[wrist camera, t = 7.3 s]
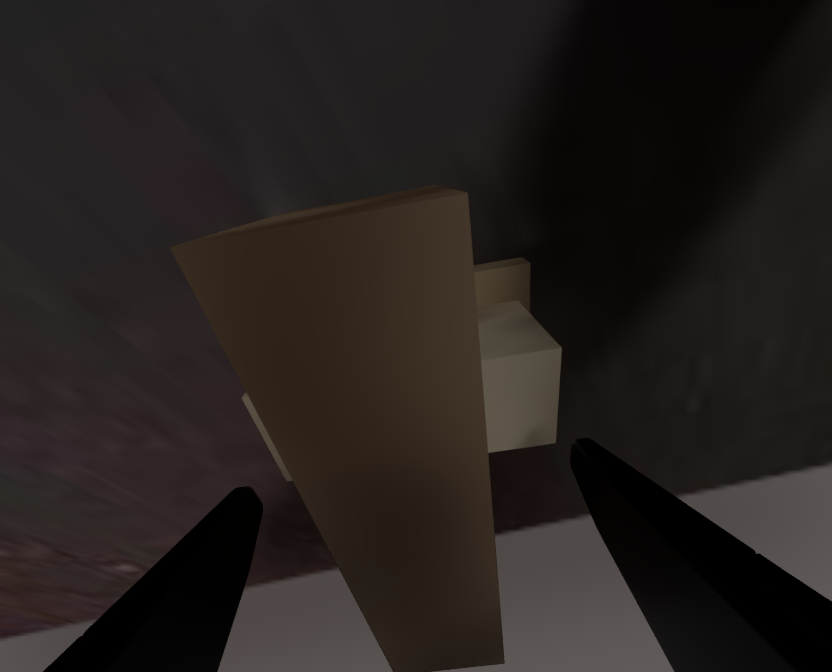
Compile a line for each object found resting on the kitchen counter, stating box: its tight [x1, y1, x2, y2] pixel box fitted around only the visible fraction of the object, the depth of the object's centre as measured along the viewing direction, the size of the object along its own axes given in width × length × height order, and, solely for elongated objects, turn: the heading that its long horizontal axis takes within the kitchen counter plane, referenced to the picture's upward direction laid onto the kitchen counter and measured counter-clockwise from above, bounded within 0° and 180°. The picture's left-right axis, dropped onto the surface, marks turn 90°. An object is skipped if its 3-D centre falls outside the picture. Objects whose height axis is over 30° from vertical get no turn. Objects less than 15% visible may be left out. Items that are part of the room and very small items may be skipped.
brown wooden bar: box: [170, 185, 505, 672], centre depth 9 cm, size 4×14×4 cm, turn 9°
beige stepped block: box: [242, 257, 562, 481], centre depth 13 cm, size 11×7×5 cm, turn 99°
